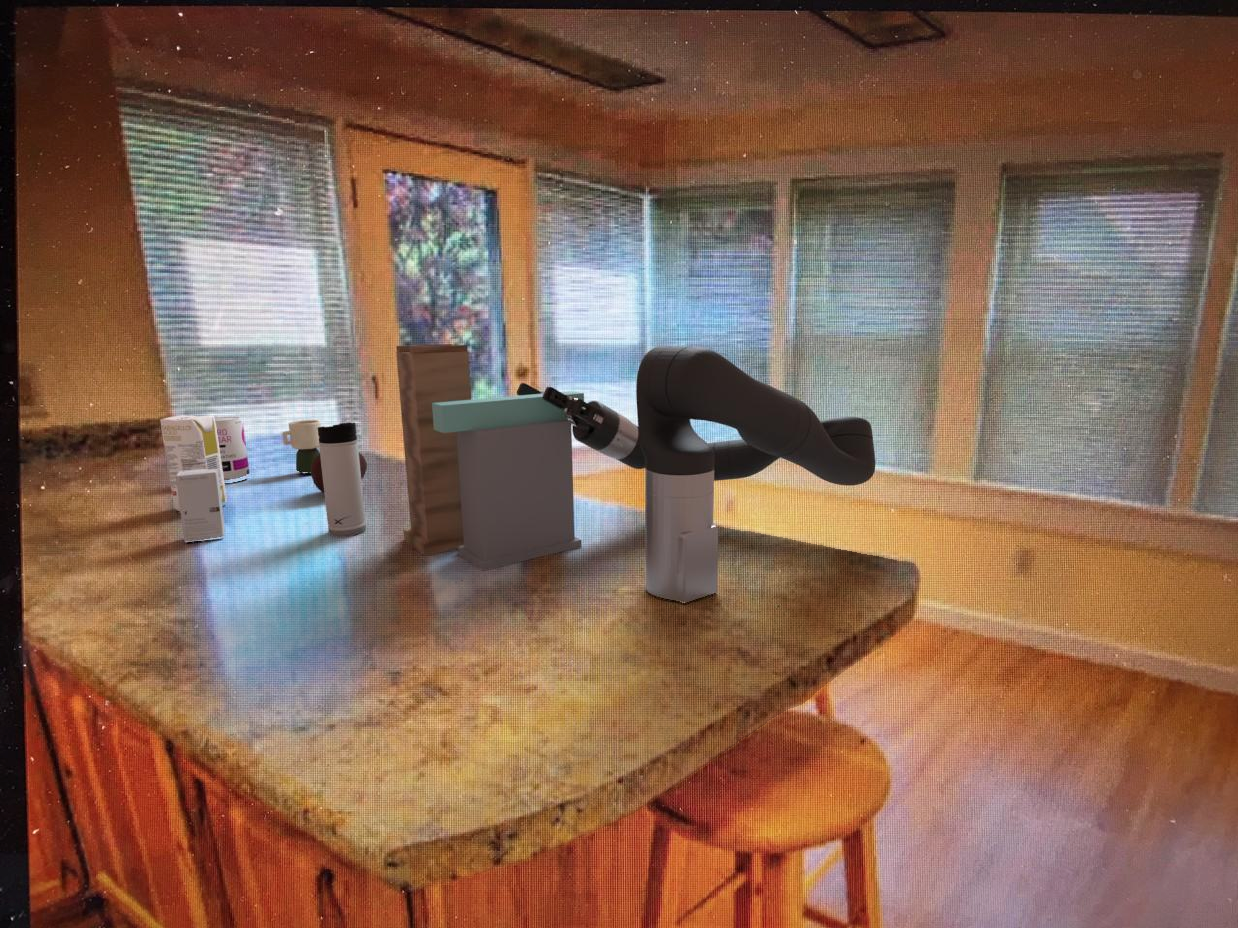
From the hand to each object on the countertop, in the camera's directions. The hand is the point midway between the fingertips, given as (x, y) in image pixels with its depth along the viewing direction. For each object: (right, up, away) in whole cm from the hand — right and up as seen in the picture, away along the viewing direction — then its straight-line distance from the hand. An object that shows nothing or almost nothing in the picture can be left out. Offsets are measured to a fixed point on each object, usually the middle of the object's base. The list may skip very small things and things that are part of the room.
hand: (531, 390), depth 106 cm
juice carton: (-72, -21, +31) cm, 81 cm away
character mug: (-64, -14, +62) cm, 90 cm away
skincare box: (-59, -25, +12) cm, 65 cm away
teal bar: (-3, -5, -1) cm, 6 cm away
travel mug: (-35, -24, +15) cm, 45 cm away
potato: (-48, -18, +42) cm, 66 cm away
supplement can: (-80, -16, +55) cm, 98 cm away
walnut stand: (-16, -25, +9) cm, 31 cm away
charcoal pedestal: (-2, -26, +4) cm, 26 cm away
